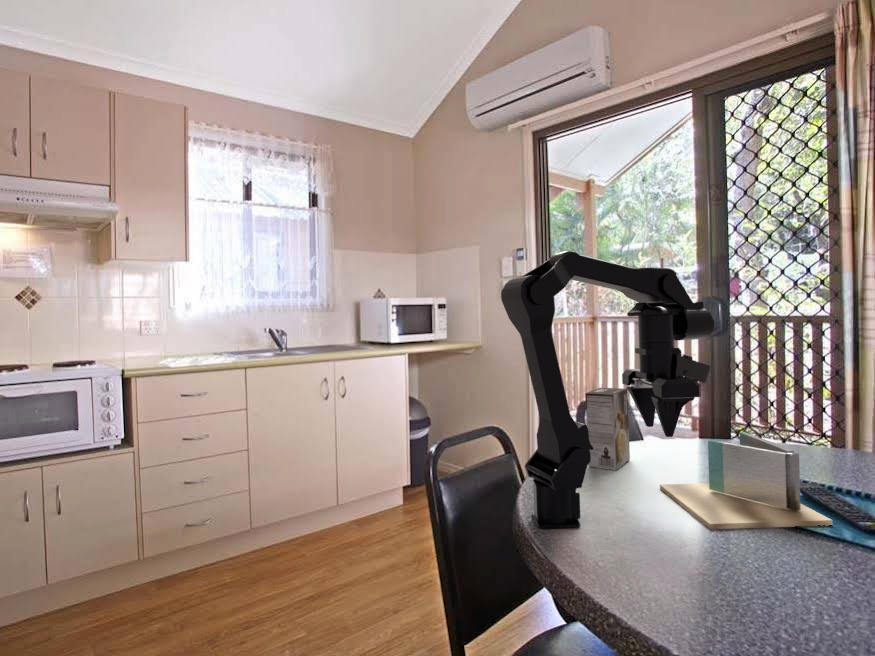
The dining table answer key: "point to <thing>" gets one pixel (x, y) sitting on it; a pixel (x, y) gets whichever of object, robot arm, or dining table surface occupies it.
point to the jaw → (755, 474)
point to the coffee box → (608, 427)
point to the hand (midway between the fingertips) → (659, 431)
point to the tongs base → (740, 502)
